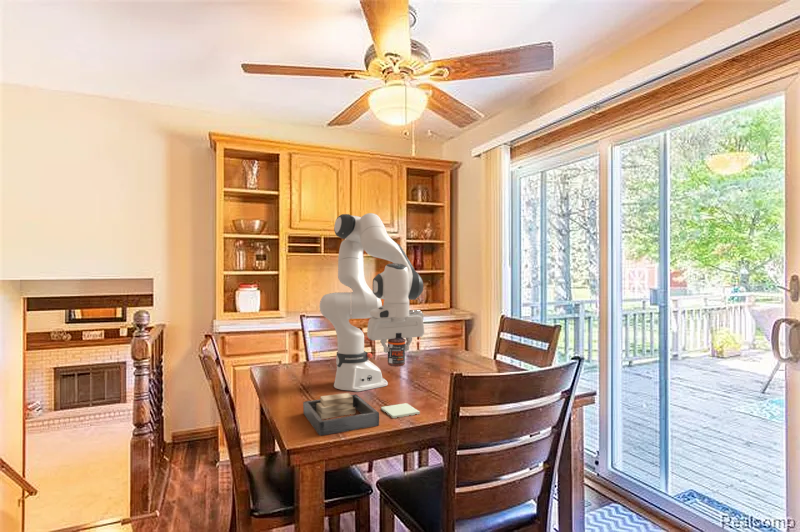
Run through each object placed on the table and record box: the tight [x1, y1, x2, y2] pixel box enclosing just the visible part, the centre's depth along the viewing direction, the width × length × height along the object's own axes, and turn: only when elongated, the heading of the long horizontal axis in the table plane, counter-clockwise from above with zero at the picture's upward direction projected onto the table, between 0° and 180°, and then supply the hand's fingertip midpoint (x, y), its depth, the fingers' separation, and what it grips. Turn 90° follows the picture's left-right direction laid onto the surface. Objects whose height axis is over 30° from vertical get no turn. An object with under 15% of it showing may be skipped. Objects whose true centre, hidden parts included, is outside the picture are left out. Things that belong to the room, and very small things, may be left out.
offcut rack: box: [302, 394, 380, 437], centre depth 140 cm, size 19×21×4 cm
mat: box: [380, 402, 421, 419], centre depth 147 cm, size 10×10×1 cm
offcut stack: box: [316, 392, 356, 420], centre depth 145 cm, size 12×6×6 cm, turn 117°
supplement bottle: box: [387, 333, 406, 368], centre depth 146 cm, size 6×6×11 cm
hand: (396, 351), depth 146 cm, fingers closed on supplement bottle, 6 cm apart
